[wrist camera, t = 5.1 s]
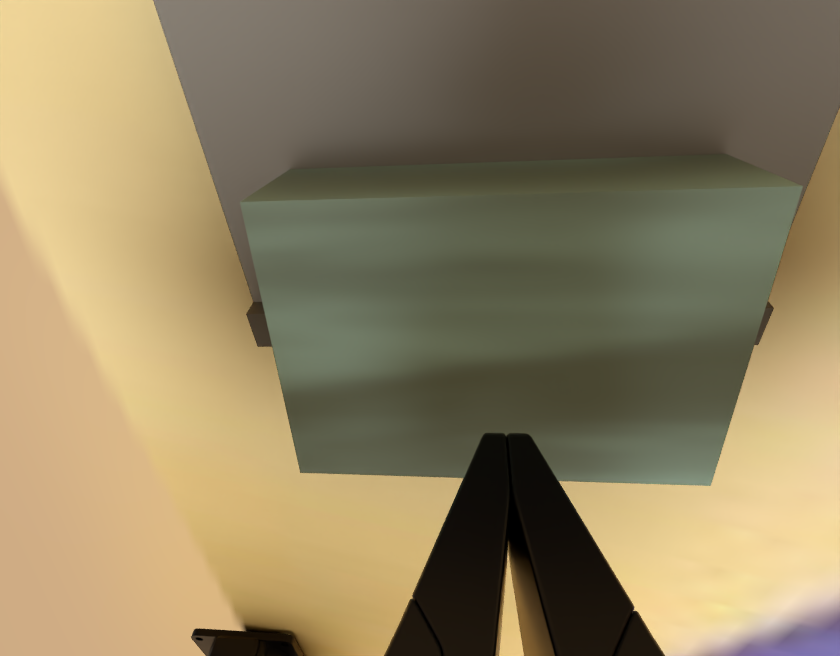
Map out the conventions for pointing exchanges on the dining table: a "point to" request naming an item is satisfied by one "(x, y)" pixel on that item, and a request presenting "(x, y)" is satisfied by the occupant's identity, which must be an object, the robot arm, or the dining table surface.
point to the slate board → (498, 86)
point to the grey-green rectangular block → (518, 310)
